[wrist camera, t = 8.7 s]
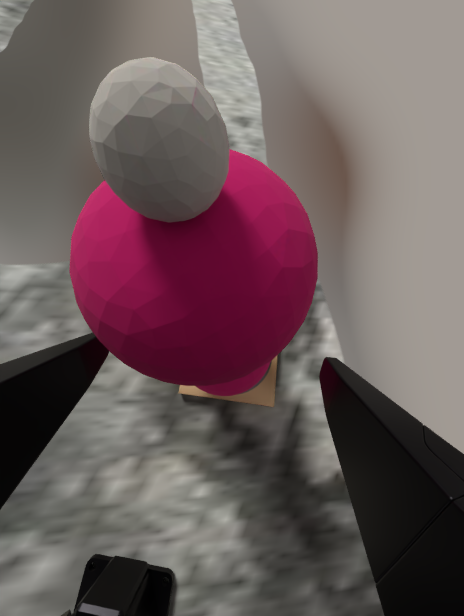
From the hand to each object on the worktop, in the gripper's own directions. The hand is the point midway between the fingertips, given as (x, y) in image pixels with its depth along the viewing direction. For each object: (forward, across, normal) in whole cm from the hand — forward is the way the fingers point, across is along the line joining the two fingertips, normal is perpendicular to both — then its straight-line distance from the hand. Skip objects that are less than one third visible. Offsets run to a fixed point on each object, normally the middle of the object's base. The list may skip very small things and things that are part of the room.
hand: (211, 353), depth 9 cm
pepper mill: (+10, 0, +7) cm, 12 cm away
